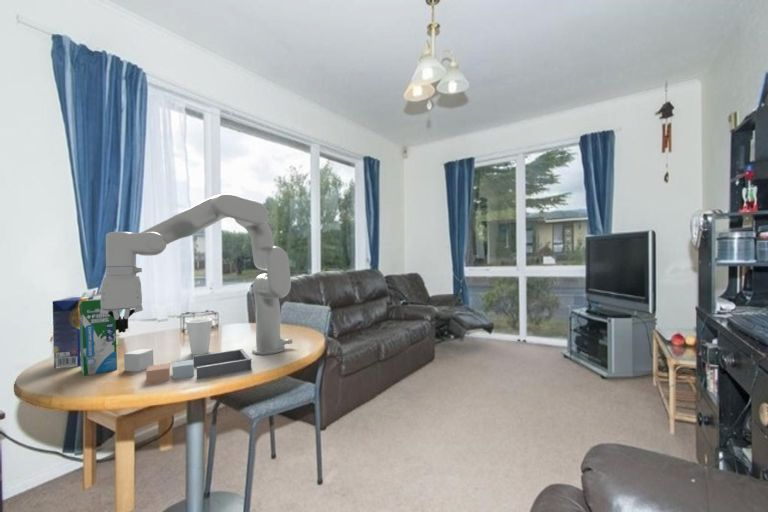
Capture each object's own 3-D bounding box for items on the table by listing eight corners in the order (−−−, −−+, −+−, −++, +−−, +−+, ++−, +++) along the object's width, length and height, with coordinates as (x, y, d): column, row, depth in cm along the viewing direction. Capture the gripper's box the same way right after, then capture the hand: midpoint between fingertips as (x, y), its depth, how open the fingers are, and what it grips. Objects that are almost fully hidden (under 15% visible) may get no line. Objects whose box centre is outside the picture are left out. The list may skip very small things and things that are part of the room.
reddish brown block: (169, 375, 120) (169, 363, 120) (168, 380, 115) (168, 368, 115) (148, 378, 117) (148, 366, 117) (146, 384, 112) (146, 371, 112)
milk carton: (112, 364, 133) (111, 296, 133) (117, 369, 126) (115, 298, 126) (80, 370, 127) (79, 298, 126) (83, 376, 120) (81, 300, 120)
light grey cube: (139, 371, 124) (139, 354, 124) (124, 371, 125) (124, 353, 125) (153, 366, 130) (153, 349, 130) (138, 365, 131) (138, 349, 131)
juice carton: (79, 366, 131) (77, 300, 131) (54, 368, 129) (52, 301, 129) (94, 357, 142) (93, 296, 142) (71, 359, 140) (70, 297, 140)
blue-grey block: (193, 371, 124) (193, 359, 124) (193, 376, 119) (193, 364, 119) (173, 374, 121) (173, 362, 121) (172, 379, 116) (172, 367, 116)
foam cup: (205, 355, 143) (204, 322, 142) (182, 355, 143) (181, 322, 143) (217, 349, 152) (216, 318, 152) (195, 349, 152) (194, 318, 152)
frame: (242, 358, 138) (242, 348, 138) (251, 369, 124) (251, 359, 124) (193, 365, 129) (193, 355, 129) (196, 378, 115) (196, 368, 115)
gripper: (150, 271, 118) (151, 327, 118) (92, 272, 111) (93, 332, 111) (149, 271, 112) (150, 331, 112) (88, 273, 104) (88, 337, 104)
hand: (122, 331), depth 111 cm, fingers closed
